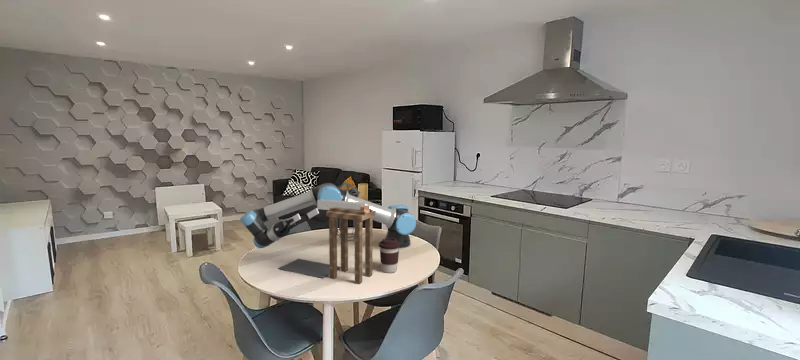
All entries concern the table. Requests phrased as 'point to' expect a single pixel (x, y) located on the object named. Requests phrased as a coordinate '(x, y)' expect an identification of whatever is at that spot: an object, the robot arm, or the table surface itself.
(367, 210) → the stand
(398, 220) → the robot arm
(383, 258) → the coffee cup
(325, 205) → the bar
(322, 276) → the mat
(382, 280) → the table surface
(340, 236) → the geometric lantern
